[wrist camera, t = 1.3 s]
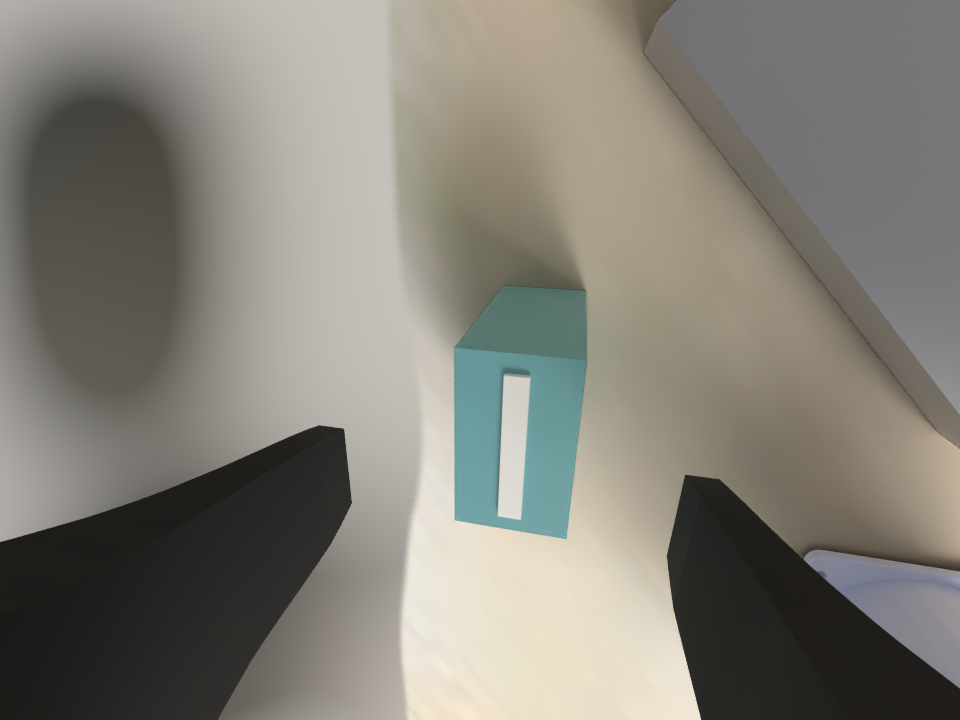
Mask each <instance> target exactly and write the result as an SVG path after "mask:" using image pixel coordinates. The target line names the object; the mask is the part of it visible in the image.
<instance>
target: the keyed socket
mask: <svg viewBox="0 0 960 720" xmlns="http://www.w3.org/2000/svg"><path fill="white" fill-rule="evenodd" d="M643 54H644V55H645V56H646V57H647V59H648V60H649V61H650V63H651V64H652V65H653V66H654V68H655V69H656V70H657V72H658V73H659V74H660V75H661V77H662V78H663V79H664V81H665V82H666V83H667V84H668V86H669V87H670V88H671V90H672V91H673V92H674V93H675V95H676V96H677V97H678V99H679V100H680V101H681V102H682V104H683V105H684V106H685V108H686V109H687V110H688V111H689V113H690V114H691V115H692V117H693V118H694V119H695V120H696V122H697V123H698V124H699V126H700V127H701V128H702V129H703V131H704V132H705V133H706V135H707V136H708V137H709V138H710V140H711V141H712V142H713V144H714V145H715V146H716V147H717V149H718V150H719V151H720V153H721V154H722V155H723V156H724V158H725V159H726V160H727V162H728V163H729V164H730V166H731V167H732V168H733V169H734V171H735V172H736V173H737V175H738V176H739V177H740V178H741V180H742V181H743V182H744V184H745V185H746V186H747V187H748V189H749V190H750V191H751V193H752V194H753V195H754V196H755V198H756V199H757V200H758V202H759V203H760V204H761V205H762V207H763V208H764V209H765V211H766V212H767V213H768V214H769V216H770V217H771V218H772V220H773V221H774V222H775V223H776V225H777V226H778V227H779V229H780V230H781V231H782V232H783V234H784V235H785V236H786V238H787V239H788V240H789V241H790V243H791V244H792V245H793V247H794V248H795V249H796V250H797V252H798V253H799V254H800V256H801V257H802V258H803V259H804V261H805V262H806V263H807V265H808V266H809V267H810V268H811V270H812V271H813V272H814V274H815V275H816V276H817V277H818V279H819V280H820V281H821V283H822V284H823V285H824V287H825V288H826V289H827V290H828V292H829V293H830V294H831V296H832V297H833V298H834V299H835V301H836V302H837V303H838V305H839V306H840V307H841V308H842V310H843V311H844V312H845V314H846V315H847V316H848V317H849V319H850V320H851V321H852V323H853V324H854V325H855V326H856V328H857V329H858V330H859V332H860V333H861V334H862V335H863V337H864V338H865V339H866V341H867V342H868V343H869V344H870V346H871V347H872V348H873V350H874V351H875V352H876V353H877V355H878V356H879V357H880V359H881V360H882V361H883V362H884V364H885V365H886V366H887V368H888V369H889V370H890V371H891V373H892V374H893V375H894V377H895V378H896V379H897V380H898V382H899V383H900V384H901V386H902V387H903V388H904V389H905V391H906V392H907V393H908V395H909V396H910V397H911V398H912V400H913V401H914V402H915V404H916V405H917V406H918V407H919V409H920V410H921V411H922V413H923V414H924V415H925V417H926V418H927V419H928V420H929V422H930V423H931V424H932V426H933V427H934V428H935V429H936V431H937V432H938V433H939V434H940V435H941V436H943V437H944V438H946V439H947V440H948V441H950V442H951V443H953V444H954V445H956V446H957V447H958V448H960V0H677V1H676V2H675V3H674V4H673V5H672V6H671V7H670V8H669V9H668V10H667V11H666V12H665V13H664V14H663V15H662V16H661V17H660V18H659V19H658V21H657V23H656V25H655V27H654V30H653V32H652V34H651V36H650V39H649V41H648V43H647V45H646V48H645V50H644V52H643Z"/></svg>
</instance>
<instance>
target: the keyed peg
mask: <svg viewBox="0 0 960 720" xmlns="http://www.w3.org/2000/svg"><path fill="white" fill-rule="evenodd" d="M586 365H587V318H586V291H584V290H569V289H553V288H538V287H523V286H508V285H504V286H503V287H502V288H501V289H500V291H499V292H498V293H497V295H496V296H495V297H494V298H493V300H492V301H491V302H490V303H489V305H488V306H487V307H486V309H485V310H484V311H483V312H482V314H481V315H480V316H479V317H478V319H477V320H476V321H475V322H474V324H473V325H472V326H471V328H470V329H469V330H468V331H467V333H466V334H465V335H464V336H463V338H462V339H461V340H460V341H459V343H458V344H457V345H456V347H455V348H454V378H455V520H457V521H462V522H468V523H474V524H480V525H486V526H492V527H498V528H504V529H510V530H516V531H522V532H527V533H533V534H539V535H545V536H551V537H557V538H563V539H566V537H567V529H568V520H569V512H570V503H571V494H572V486H573V477H574V468H575V460H576V451H577V443H578V434H579V425H580V417H581V408H582V399H583V391H584V382H585V374H586Z"/></svg>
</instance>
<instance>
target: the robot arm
mask: <svg viewBox="0 0 960 720" xmlns="http://www.w3.org/2000/svg"><path fill="white" fill-rule="evenodd" d="M351 504H352V501H351V491H350V481H349V472H348V462H347V453H346V444H345V434H344V429H342V428H334V427H327V426H320V425H319V426H316V427H313V428H311V429H308V430H305V431H302V432H300V433H298V434H295V435H293V436H290V437H288V438H286V439H284V440H281V441H279V442H277V443H275V444H272V445H270V446H268V447H266V448H264V449H261V450H259V451H257V452H254V453H252V454H250V455H248V456H246V457H243V458H241V459H239V460H237V461H234V462H232V463H230V464H228V465H225V466H223V467H221V468H218V469H216V470H213V471H211V472H209V473H206V474H204V475H201V476H199V477H196V478H194V479H192V480H189V481H187V482H184V483H182V484H180V485H177V486H175V487H172V488H170V489H167V490H165V491H162V492H159V493H157V494H154V495H151V496H149V497H146V498H143V499H141V500H138V501H135V502H132V503H129V504H126V505H123V506H120V507H117V508H114V509H111V510H109V511H106V512H102V513H99V514H97V515H93V516H90V517H87V518H84V519H80V520H77V521H73V522H70V523H66V524H63V525H59V526H56V527H53V528H49V529H45V530H42V531H39V532H35V533H31V534H28V535H24V536H21V537H17V538H14V539H11V540H6V541H3V542H0V720H217V719H218V718H219V716H220V714H221V712H222V711H223V709H224V707H225V705H226V704H227V702H228V700H229V698H230V697H231V695H232V693H233V691H234V690H235V688H236V686H237V684H238V682H239V681H240V679H241V677H242V676H243V674H244V672H245V670H246V669H247V667H248V665H249V663H250V662H251V660H252V658H253V657H254V656H255V654H256V652H257V651H258V649H259V648H260V646H261V645H262V643H263V642H264V640H265V638H266V637H267V636H268V634H269V633H270V631H271V630H272V628H273V627H274V625H275V624H276V623H277V621H278V620H279V618H280V617H281V615H282V614H283V613H284V611H285V610H286V608H287V607H288V605H289V604H290V603H291V601H292V600H293V598H294V597H295V595H296V594H297V593H298V591H299V590H300V588H301V587H302V585H303V584H304V582H305V581H306V580H307V578H308V577H309V575H310V574H311V572H312V571H313V569H314V568H315V566H316V565H317V564H318V562H319V561H320V559H321V558H322V556H323V555H324V553H325V552H326V550H327V549H328V547H329V546H330V544H331V543H332V541H333V539H334V537H335V535H336V533H337V532H338V530H339V528H340V526H341V524H342V522H343V520H344V518H345V515H346V514H347V512H348V510H349V508H350V506H351ZM667 561H668V570H669V578H670V587H671V594H672V601H673V608H674V612H675V617H676V621H677V625H678V629H679V633H680V637H681V641H682V645H683V649H684V653H685V657H686V661H687V665H688V669H689V673H690V677H691V681H692V685H693V689H694V693H695V697H696V701H697V705H698V708H699V712H700V716H701V720H960V571H954V570H947V569H941V568H935V567H928V566H922V565H915V564H909V563H903V562H896V561H890V560H884V559H877V558H871V557H865V556H858V555H852V554H845V553H839V552H833V551H826V550H813V551H810V552H809V553H807V554H806V556H805V557H804V559H802V558H801V557H800V556H799V555H798V554H797V553H796V552H795V551H794V550H793V549H792V548H791V547H789V546H788V545H787V544H786V543H785V542H784V541H783V540H782V539H781V538H780V537H779V536H778V535H777V534H776V533H775V532H774V531H773V530H772V529H771V528H770V527H769V526H767V525H766V524H765V523H764V522H763V521H762V520H761V519H760V518H759V517H758V516H757V515H756V514H755V513H754V512H753V511H752V510H751V509H750V508H749V507H748V506H747V505H746V504H745V503H744V502H743V501H742V500H741V499H740V498H739V497H738V496H737V495H736V494H735V493H734V492H733V491H731V490H730V489H729V488H728V487H727V486H726V485H725V484H724V483H723V482H722V481H721V480H719V479H713V478H705V477H698V476H690V475H685V478H684V483H683V487H682V492H681V496H680V500H679V505H678V509H677V514H676V518H675V523H674V527H673V531H672V536H671V540H670V545H669V549H668V553H667ZM817 571H820V572H817Z"/></svg>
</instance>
